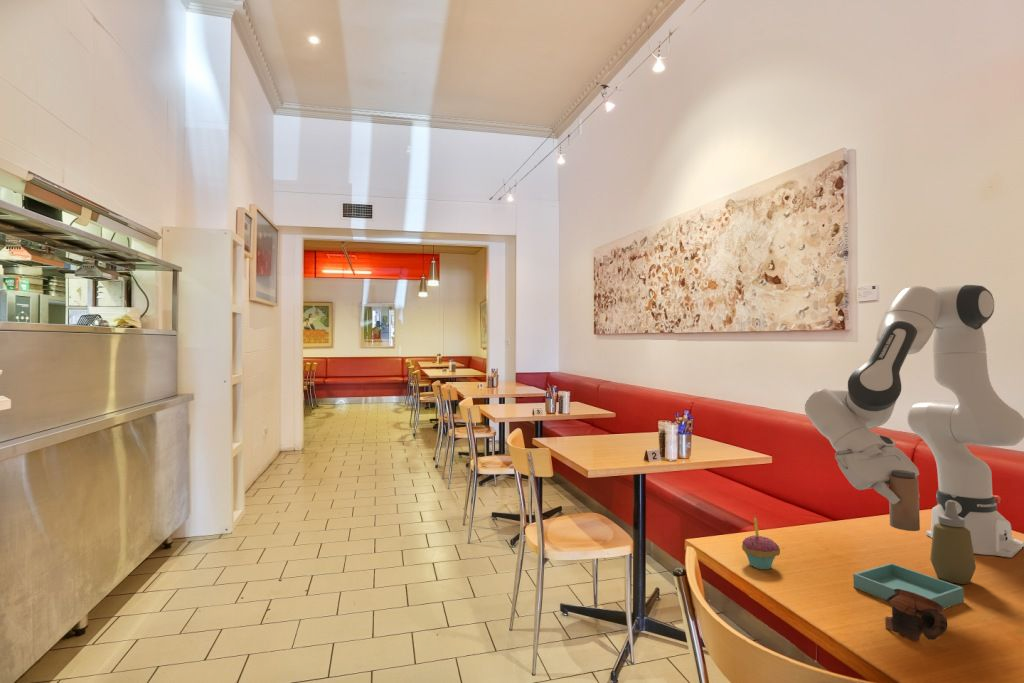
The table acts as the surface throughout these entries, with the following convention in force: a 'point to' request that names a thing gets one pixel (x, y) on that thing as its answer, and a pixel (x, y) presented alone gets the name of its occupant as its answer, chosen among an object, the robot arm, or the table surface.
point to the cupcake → (760, 550)
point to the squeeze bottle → (952, 548)
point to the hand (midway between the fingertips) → (907, 500)
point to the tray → (907, 584)
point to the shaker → (905, 500)
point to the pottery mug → (915, 616)
